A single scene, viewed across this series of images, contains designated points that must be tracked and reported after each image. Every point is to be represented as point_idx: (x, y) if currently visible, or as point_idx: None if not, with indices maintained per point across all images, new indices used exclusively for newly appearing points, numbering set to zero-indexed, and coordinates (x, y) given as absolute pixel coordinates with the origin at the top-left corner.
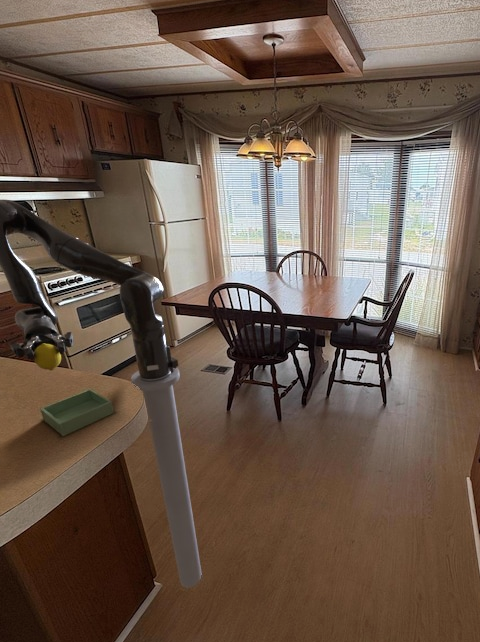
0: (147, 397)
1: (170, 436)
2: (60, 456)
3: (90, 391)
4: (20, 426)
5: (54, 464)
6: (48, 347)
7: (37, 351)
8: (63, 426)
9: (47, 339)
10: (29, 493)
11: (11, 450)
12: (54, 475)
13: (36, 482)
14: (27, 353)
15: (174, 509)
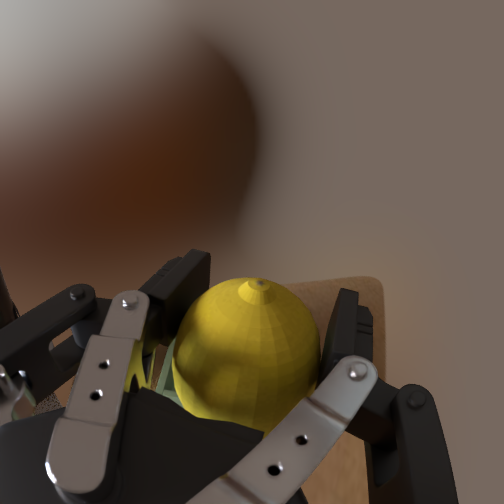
0: (50, 402)
1: None
2: (318, 302)
3: (165, 387)
4: (355, 444)
5: (329, 295)
6: (245, 278)
7: (307, 308)
8: None
9: (143, 417)
10: (362, 278)
11: (379, 369)
12: (334, 280)
13: (354, 285)
14: (362, 314)
15: None
